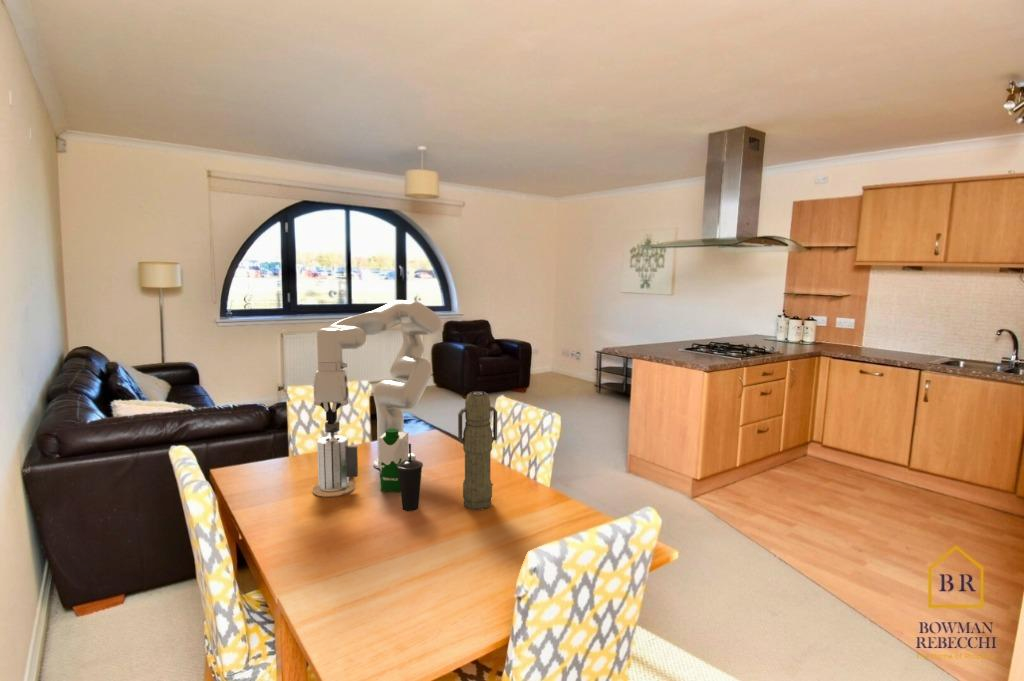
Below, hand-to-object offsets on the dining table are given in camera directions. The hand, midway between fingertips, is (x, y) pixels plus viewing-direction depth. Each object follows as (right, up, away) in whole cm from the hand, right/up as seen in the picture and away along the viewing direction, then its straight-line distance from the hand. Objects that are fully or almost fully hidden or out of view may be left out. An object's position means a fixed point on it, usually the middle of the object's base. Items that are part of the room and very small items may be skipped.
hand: (331, 422), depth 171 cm
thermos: (+47, -24, -8) cm, 54 cm away
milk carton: (+19, -22, +5) cm, 30 cm away
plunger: (0, -18, +2) cm, 19 cm away
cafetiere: (0, -22, +3) cm, 22 cm away
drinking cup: (+28, -24, -11) cm, 38 cm away
